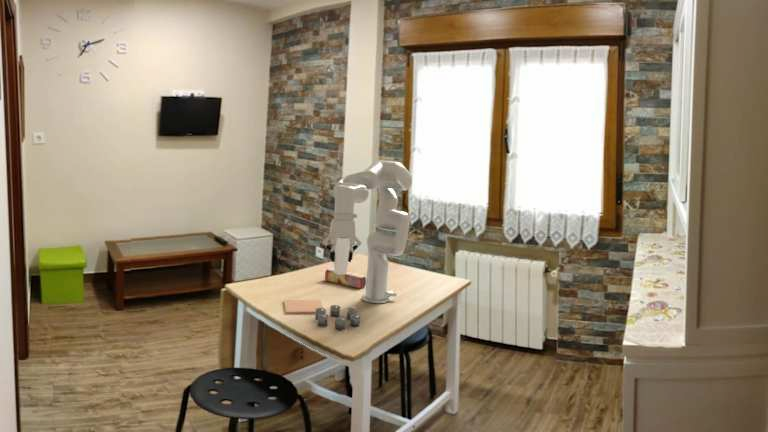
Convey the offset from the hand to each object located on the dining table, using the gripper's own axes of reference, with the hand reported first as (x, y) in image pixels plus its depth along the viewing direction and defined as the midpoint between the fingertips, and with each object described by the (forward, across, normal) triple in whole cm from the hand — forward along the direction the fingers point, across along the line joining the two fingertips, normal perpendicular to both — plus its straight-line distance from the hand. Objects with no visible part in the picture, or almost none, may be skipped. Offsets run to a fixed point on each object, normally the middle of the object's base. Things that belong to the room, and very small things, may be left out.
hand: (341, 260), depth 240 cm
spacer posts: (+25, 0, 0) cm, 25 cm away
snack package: (+26, -12, -55) cm, 62 cm away
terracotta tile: (+25, +12, -18) cm, 33 cm away
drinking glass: (+5, 0, 0) cm, 5 cm away
